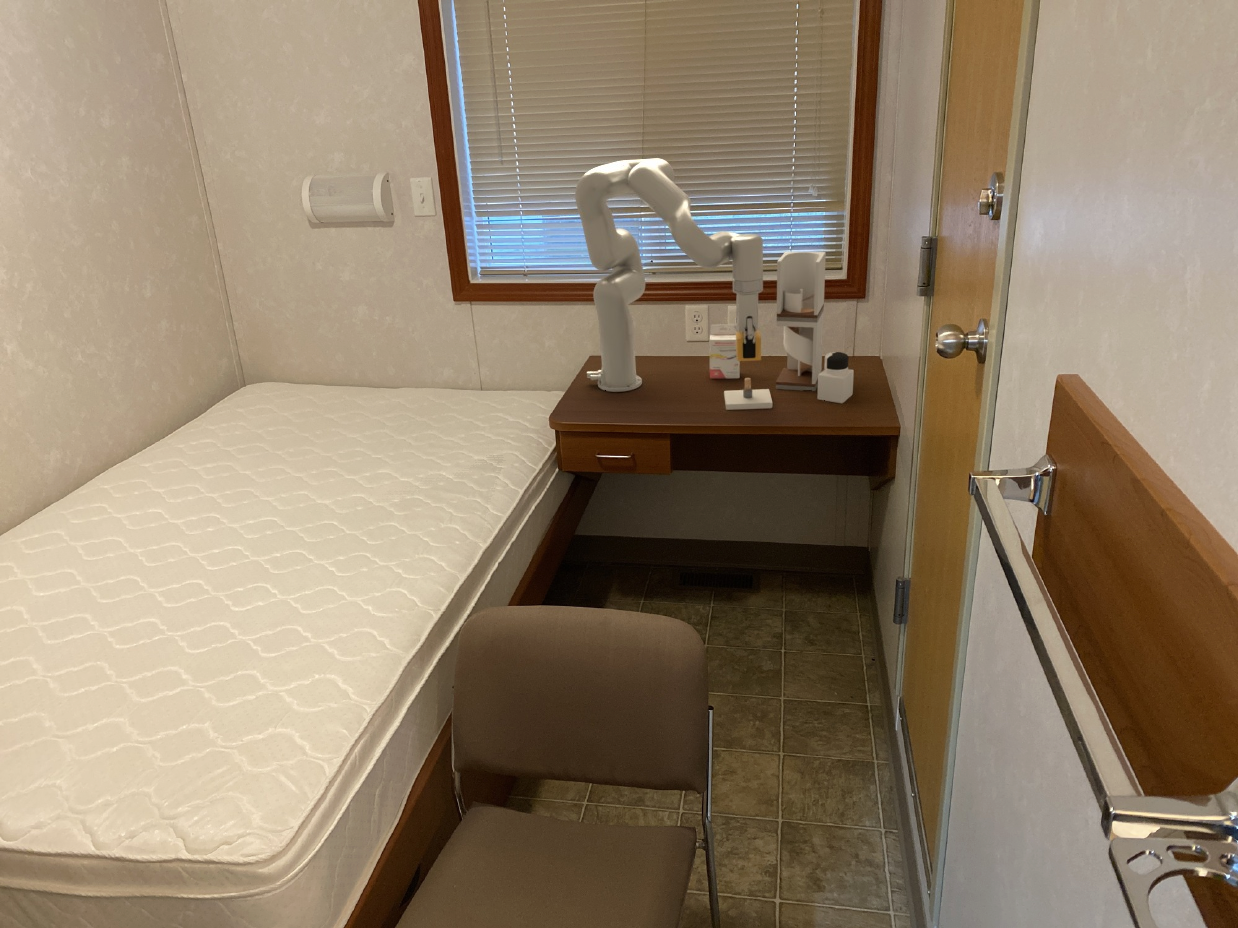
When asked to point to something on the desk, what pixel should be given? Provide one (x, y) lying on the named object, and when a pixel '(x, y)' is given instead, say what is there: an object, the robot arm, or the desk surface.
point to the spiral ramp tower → (801, 317)
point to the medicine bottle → (835, 379)
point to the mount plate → (747, 398)
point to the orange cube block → (740, 346)
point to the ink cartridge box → (723, 352)
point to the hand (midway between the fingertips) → (748, 353)
